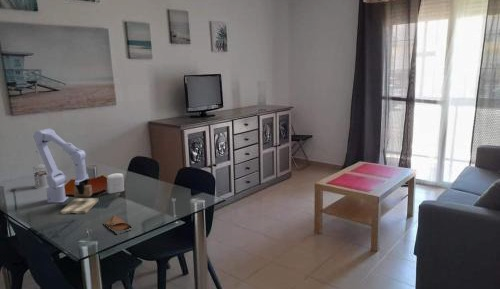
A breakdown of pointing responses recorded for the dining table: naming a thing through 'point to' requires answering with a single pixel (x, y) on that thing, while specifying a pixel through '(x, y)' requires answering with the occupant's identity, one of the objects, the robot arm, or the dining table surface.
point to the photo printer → (115, 183)
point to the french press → (40, 176)
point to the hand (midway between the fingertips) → (83, 192)
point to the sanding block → (86, 191)
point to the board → (79, 205)
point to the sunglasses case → (117, 224)
